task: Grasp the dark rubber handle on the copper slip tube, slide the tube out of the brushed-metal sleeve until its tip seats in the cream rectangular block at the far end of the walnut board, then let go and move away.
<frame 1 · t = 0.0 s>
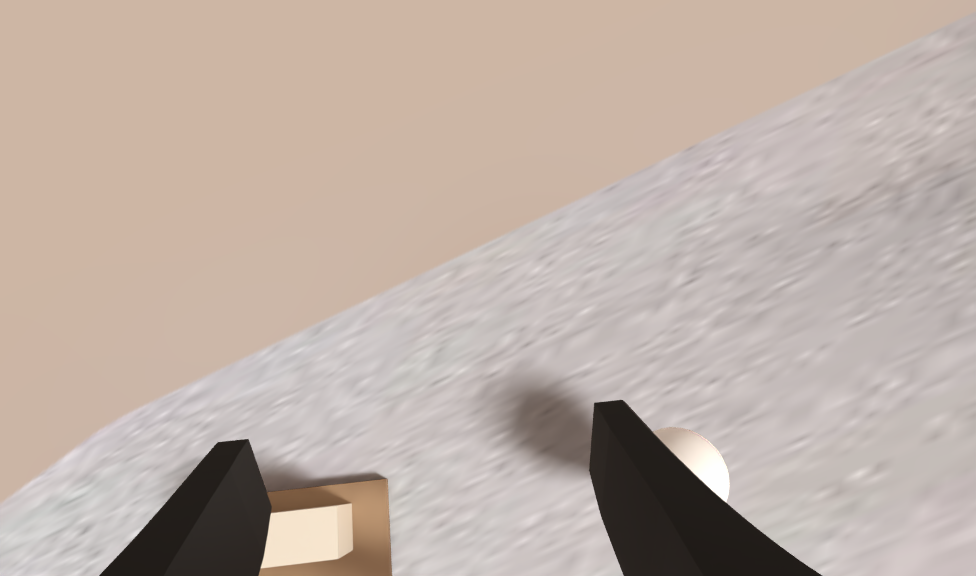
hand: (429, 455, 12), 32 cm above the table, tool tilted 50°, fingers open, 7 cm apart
lightbulb: (638, 478, 43), on the table
cream rectangular block: (306, 531, 41), resting on walnut board
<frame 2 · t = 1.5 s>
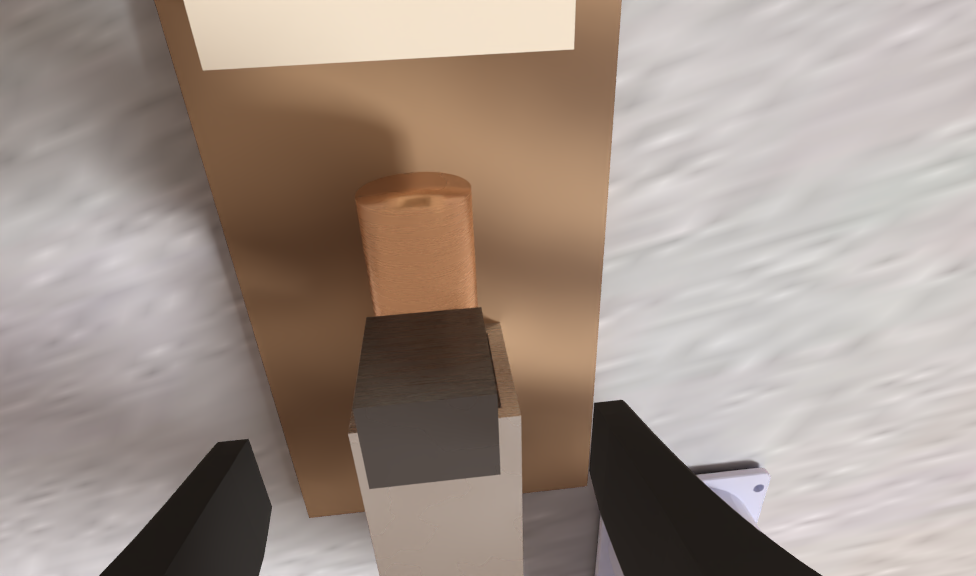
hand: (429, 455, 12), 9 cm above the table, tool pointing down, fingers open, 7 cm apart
slip tube: (437, 430, 16), point 5 cm above the table, slide at 0.0 cm
sleeve: (440, 397, 23), resting on walnut board
walnut board: (425, 252, 19), on the table
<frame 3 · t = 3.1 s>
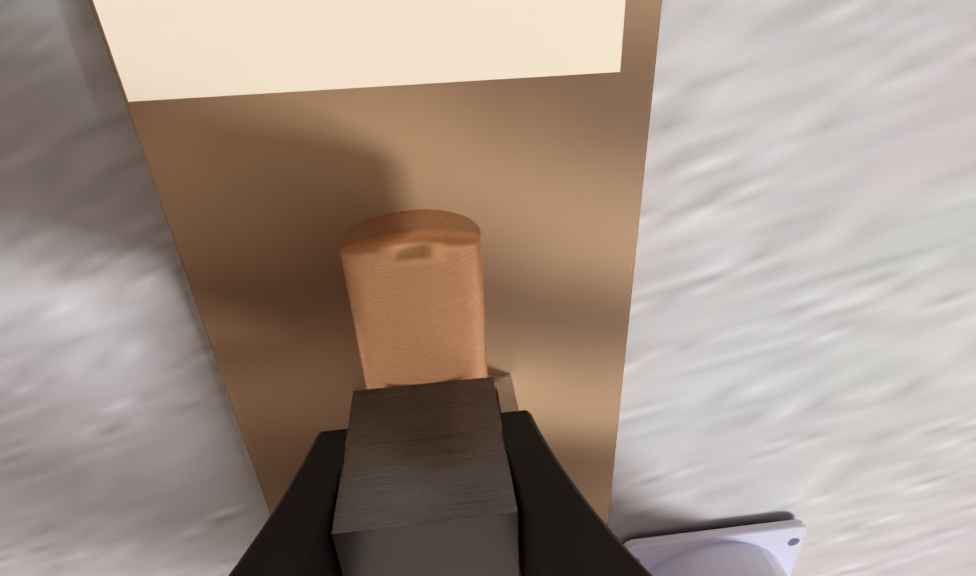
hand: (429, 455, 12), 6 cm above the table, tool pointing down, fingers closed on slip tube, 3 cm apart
slip tube: (439, 514, 14), point 5 cm above the table, slide at 0.0 cm, touching gripper
sleeve: (442, 451, 20), resting on walnut board
walnut board: (424, 294, 17), on the table
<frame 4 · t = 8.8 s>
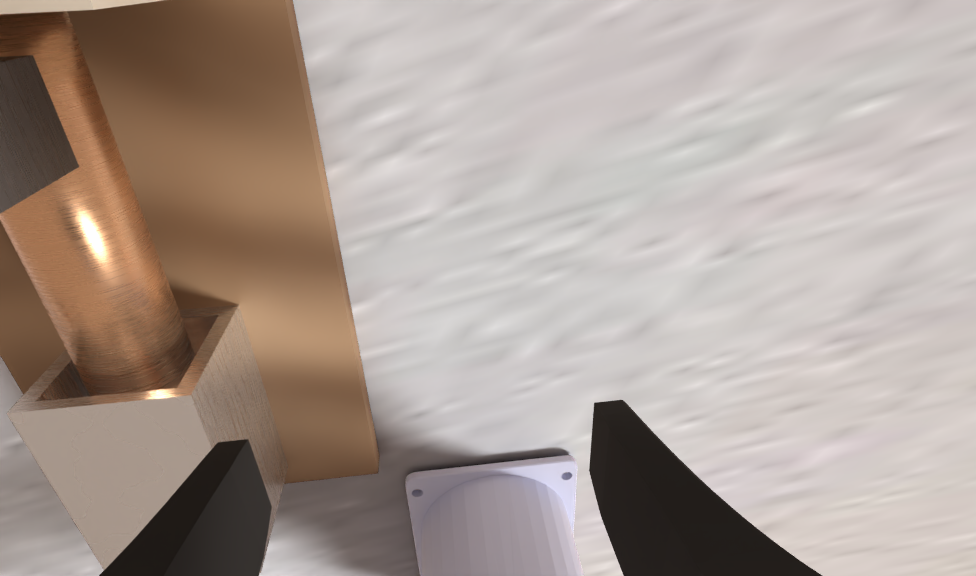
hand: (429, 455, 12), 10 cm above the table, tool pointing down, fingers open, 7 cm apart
slip tube: (34, 237, 13), point 5 cm above the table, slide at 5.5 cm
sleeve: (210, 382, 22), resting on walnut board
walnut board: (154, 233, 19), on the table
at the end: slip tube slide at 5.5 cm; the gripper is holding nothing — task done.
